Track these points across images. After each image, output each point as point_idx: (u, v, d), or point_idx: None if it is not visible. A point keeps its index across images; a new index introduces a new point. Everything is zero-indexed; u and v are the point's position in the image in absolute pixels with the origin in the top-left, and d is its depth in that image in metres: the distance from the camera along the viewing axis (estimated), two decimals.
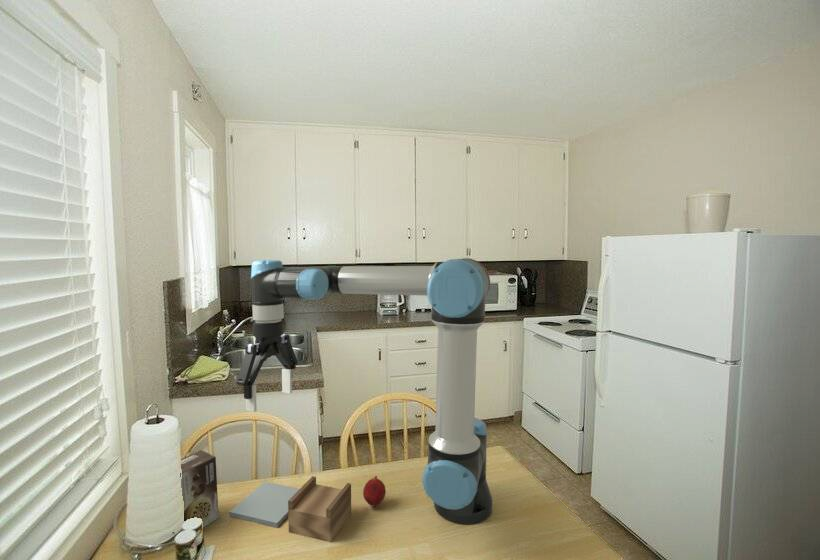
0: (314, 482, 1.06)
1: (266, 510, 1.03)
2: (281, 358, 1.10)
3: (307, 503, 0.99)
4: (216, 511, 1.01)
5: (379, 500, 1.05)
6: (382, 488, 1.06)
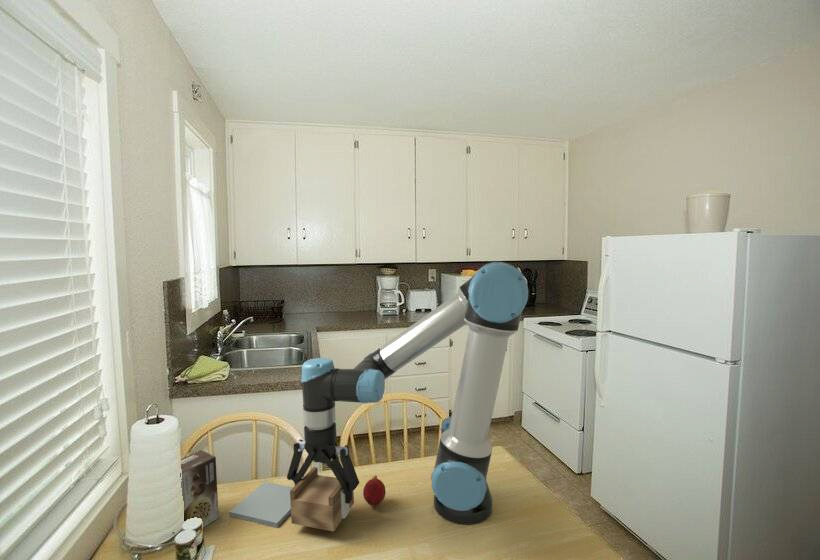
0: (316, 473, 1.06)
1: (266, 510, 1.03)
2: None
3: (309, 493, 0.98)
4: (216, 511, 1.01)
5: (379, 500, 1.05)
6: (382, 488, 1.06)
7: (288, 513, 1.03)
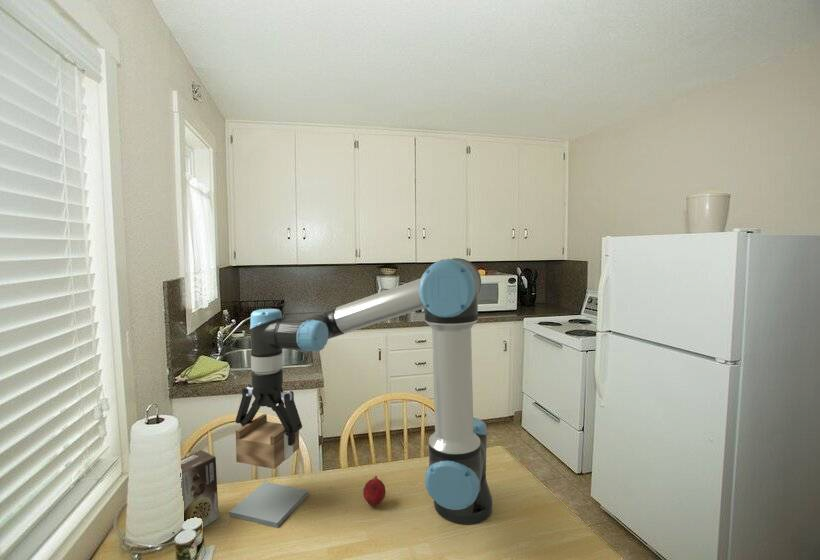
0: (264, 419, 1.12)
1: (266, 510, 1.03)
2: None
3: (255, 434, 1.04)
4: (216, 511, 1.01)
5: (379, 500, 1.05)
6: (382, 488, 1.06)
7: (288, 513, 1.03)
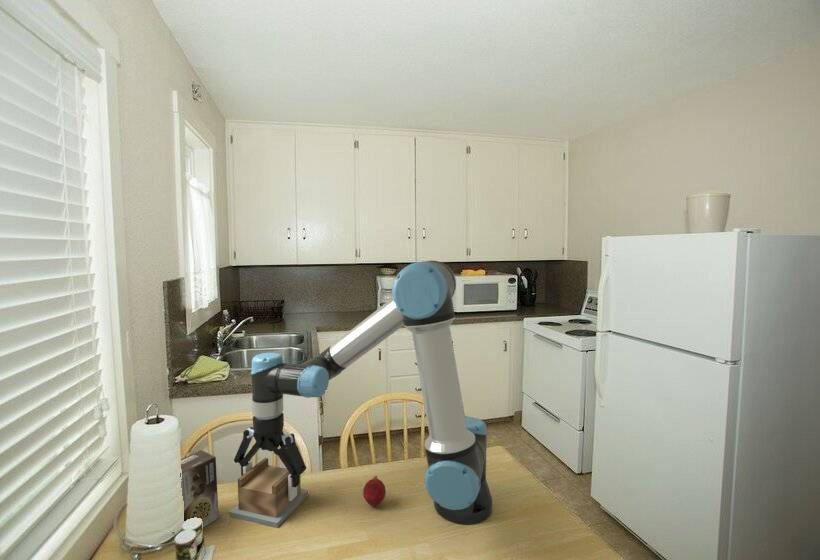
0: (266, 463, 1.12)
1: None
2: None
3: (257, 482, 1.05)
4: (216, 511, 1.01)
5: (379, 500, 1.05)
6: (382, 488, 1.06)
7: (288, 513, 1.03)
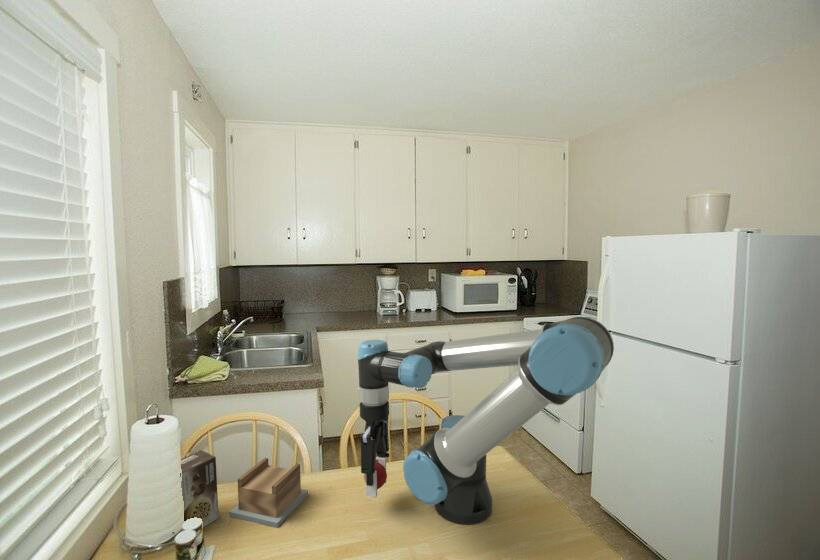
0: (266, 463, 1.12)
1: None
2: (379, 442, 1.08)
3: (257, 482, 1.05)
4: (216, 511, 1.01)
5: (380, 484, 1.04)
6: (383, 471, 1.05)
7: (288, 513, 1.03)
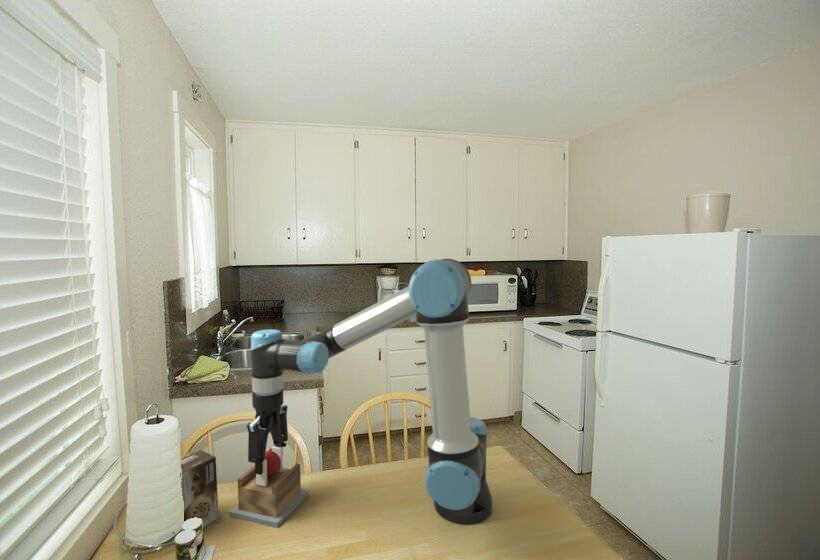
0: None
1: None
2: (275, 431, 1.08)
3: None
4: (216, 511, 1.01)
5: (271, 472, 1.04)
6: (275, 460, 1.05)
7: (288, 513, 1.03)
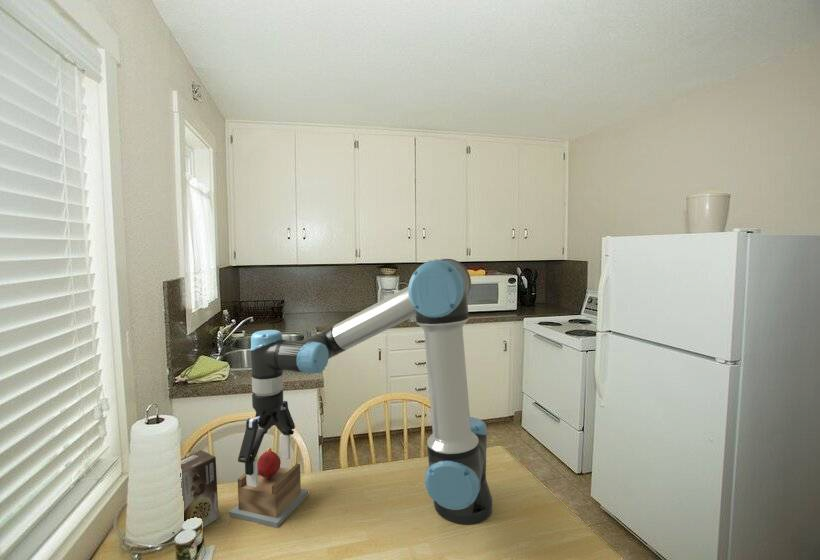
0: None
1: None
2: (279, 425, 1.10)
3: None
4: (216, 511, 1.01)
5: (271, 472, 1.04)
6: (275, 460, 1.05)
7: (288, 513, 1.03)
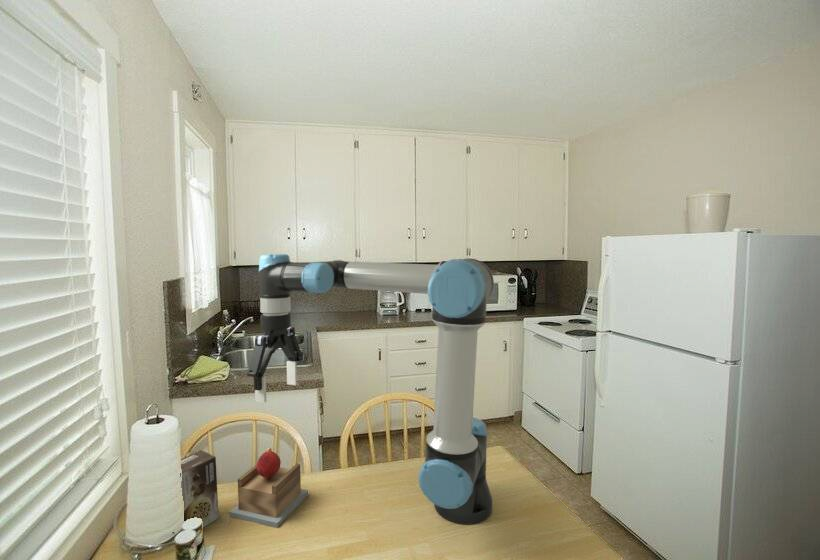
0: None
1: None
2: (286, 350, 1.12)
3: (257, 482, 1.05)
4: (216, 511, 1.01)
5: (271, 472, 1.04)
6: (275, 460, 1.05)
7: (288, 513, 1.03)
